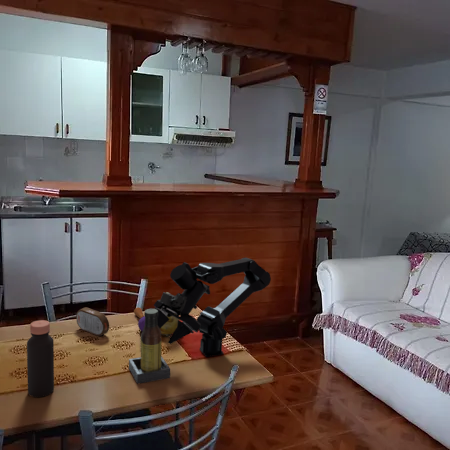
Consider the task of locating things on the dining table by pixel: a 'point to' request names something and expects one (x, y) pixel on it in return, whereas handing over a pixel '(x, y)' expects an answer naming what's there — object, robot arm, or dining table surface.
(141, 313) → the kendama
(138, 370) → the grey square tray
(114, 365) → the dining table surface
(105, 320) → the wooden speaker
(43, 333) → the dark grey water bottle
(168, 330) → the decorative figurine
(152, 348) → the sauce bottle
